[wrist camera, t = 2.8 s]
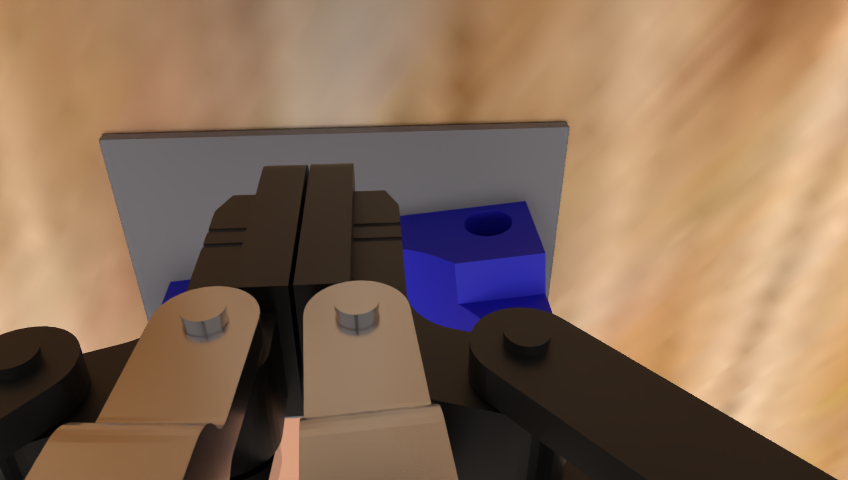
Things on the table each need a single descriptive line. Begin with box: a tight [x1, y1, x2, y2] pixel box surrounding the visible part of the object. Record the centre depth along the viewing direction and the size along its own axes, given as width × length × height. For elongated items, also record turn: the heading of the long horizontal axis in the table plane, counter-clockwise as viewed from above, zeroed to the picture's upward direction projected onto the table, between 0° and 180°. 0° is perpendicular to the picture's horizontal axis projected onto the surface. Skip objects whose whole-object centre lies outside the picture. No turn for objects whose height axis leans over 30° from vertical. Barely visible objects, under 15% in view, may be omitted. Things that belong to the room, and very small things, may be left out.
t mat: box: [99, 122, 569, 480], centre depth 27 cm, size 20×22×1 cm
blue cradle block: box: [162, 201, 552, 332], centre depth 22 cm, size 12×4×6 cm, turn 95°
